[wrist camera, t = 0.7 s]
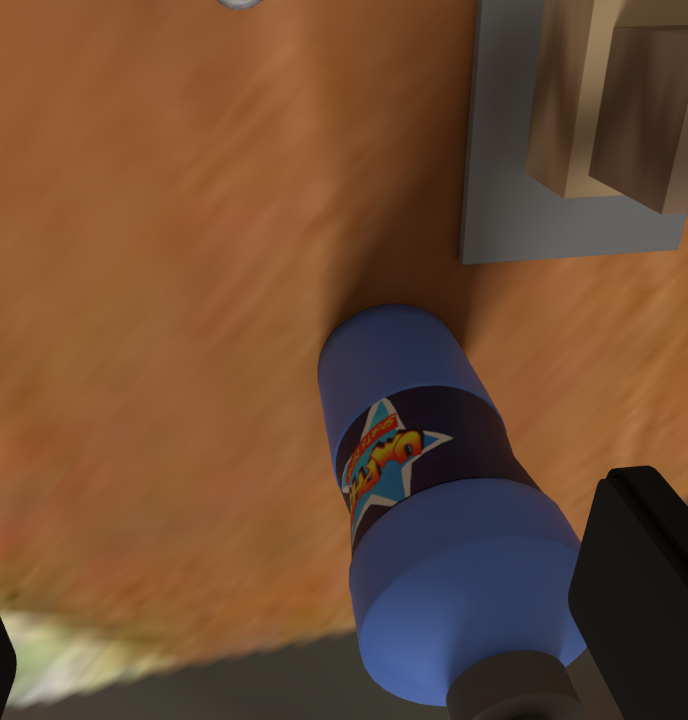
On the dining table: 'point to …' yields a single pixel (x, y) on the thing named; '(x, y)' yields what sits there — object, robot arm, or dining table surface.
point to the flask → (239, 4)
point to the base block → (579, 85)
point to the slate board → (508, 155)
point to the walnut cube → (645, 118)
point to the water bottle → (445, 528)
